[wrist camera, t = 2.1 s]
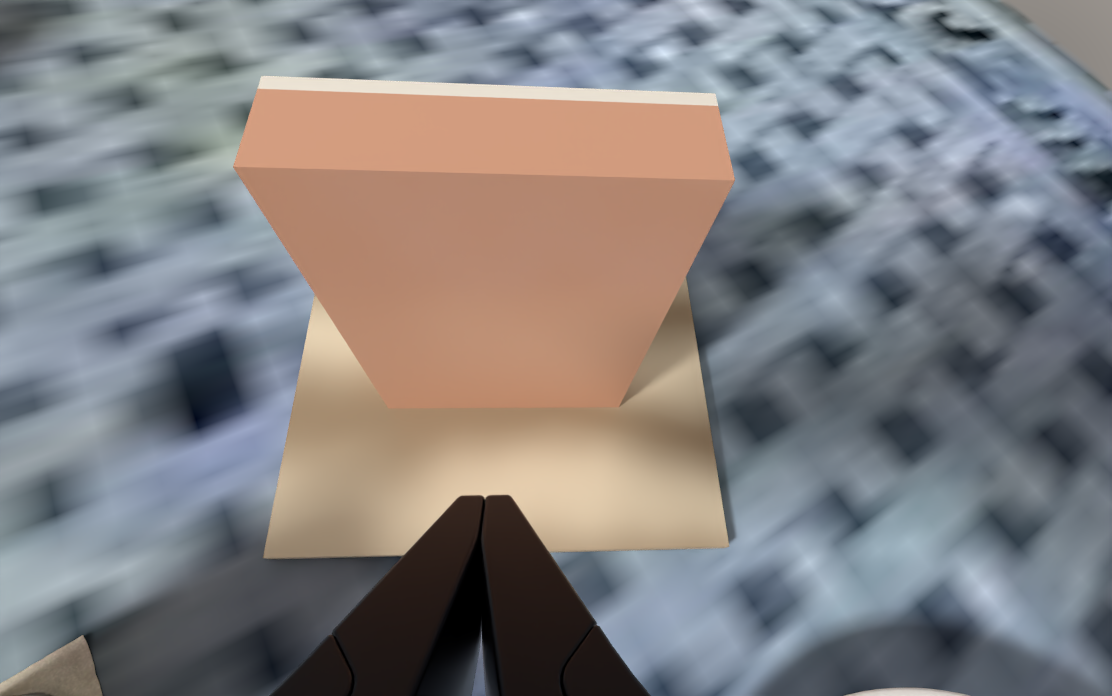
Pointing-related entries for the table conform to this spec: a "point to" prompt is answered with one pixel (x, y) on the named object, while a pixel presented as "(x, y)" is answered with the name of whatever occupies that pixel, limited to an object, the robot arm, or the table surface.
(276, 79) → the tile
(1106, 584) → the table surface
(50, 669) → the condiment
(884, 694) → the candlestick
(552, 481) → the board
